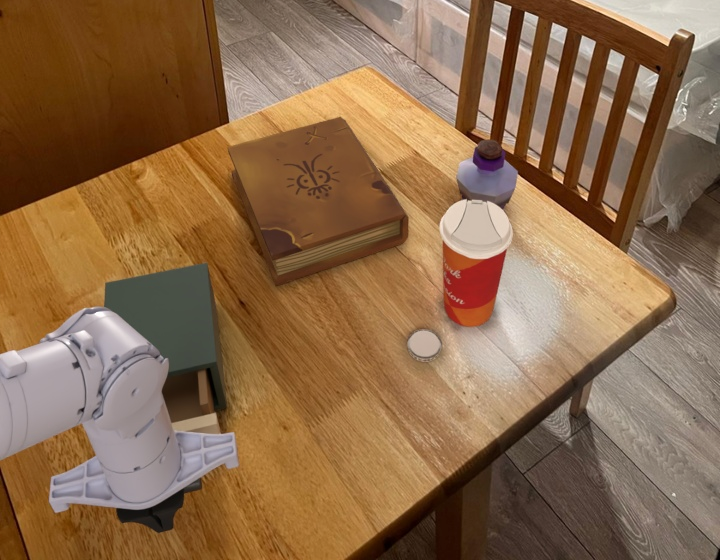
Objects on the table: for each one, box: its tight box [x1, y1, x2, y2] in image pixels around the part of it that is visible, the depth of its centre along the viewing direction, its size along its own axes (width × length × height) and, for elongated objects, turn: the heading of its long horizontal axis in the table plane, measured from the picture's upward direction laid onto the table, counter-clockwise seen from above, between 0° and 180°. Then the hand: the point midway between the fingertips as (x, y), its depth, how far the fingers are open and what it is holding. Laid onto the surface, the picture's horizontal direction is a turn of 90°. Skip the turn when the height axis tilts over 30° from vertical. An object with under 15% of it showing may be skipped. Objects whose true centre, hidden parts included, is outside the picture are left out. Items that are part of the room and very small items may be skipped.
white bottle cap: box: [406, 328, 442, 363], centre depth 85 cm, size 4×4×1 cm
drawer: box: [162, 368, 222, 495], centre depth 75 cm, size 17×10×7 cm, turn 14°
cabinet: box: [103, 262, 228, 412], centre depth 82 cm, size 14×12×9 cm
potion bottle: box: [455, 138, 519, 211], centre depth 100 cm, size 9×9×12 cm
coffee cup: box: [438, 199, 514, 328], centre depth 86 cm, size 8×8×15 cm
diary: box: [227, 116, 410, 286], centre depth 103 cm, size 23×19×6 cm
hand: (165, 519), depth 64 cm, fingers closed
